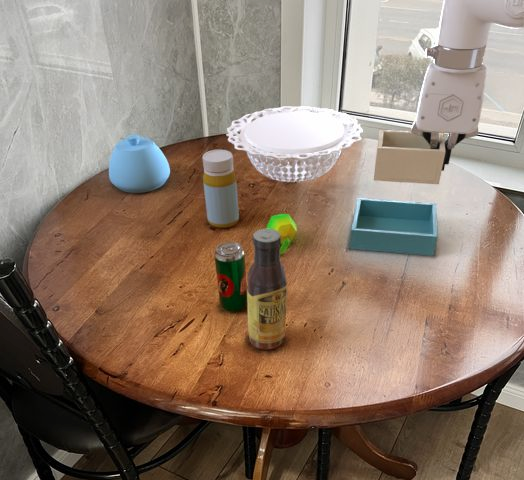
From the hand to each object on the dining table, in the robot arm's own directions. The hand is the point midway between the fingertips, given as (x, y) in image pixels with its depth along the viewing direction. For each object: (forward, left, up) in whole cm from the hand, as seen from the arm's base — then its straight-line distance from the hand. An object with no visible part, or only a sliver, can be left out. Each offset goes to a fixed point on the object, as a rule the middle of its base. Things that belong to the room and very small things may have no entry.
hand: (437, 167), depth 98 cm
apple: (+28, +3, -17) cm, 33 cm away
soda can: (+33, +25, -17) cm, 45 cm away
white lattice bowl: (+31, -26, -17) cm, 44 cm away
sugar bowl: (+69, -20, -17) cm, 74 cm away
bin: (+6, -4, -17) cm, 18 cm away
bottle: (+43, -4, -17) cm, 47 cm away
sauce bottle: (+25, +33, -17) cm, 45 cm away
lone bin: (+5, 0, -1) cm, 6 cm away
